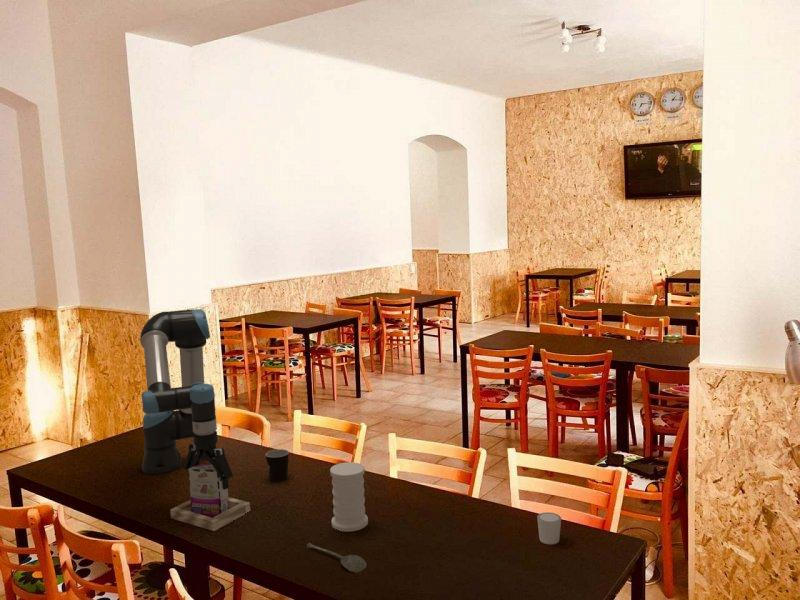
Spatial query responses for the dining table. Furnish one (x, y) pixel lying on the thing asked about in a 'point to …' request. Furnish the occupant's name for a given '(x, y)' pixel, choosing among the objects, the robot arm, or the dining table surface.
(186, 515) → the grey rectangular frame
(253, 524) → the dining table surface
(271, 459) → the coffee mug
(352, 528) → the decorative container
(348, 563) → the soupspoon
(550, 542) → the shot glass
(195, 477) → the candy bar box
